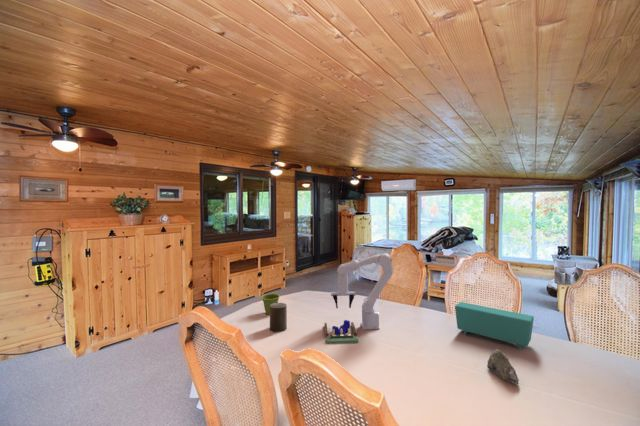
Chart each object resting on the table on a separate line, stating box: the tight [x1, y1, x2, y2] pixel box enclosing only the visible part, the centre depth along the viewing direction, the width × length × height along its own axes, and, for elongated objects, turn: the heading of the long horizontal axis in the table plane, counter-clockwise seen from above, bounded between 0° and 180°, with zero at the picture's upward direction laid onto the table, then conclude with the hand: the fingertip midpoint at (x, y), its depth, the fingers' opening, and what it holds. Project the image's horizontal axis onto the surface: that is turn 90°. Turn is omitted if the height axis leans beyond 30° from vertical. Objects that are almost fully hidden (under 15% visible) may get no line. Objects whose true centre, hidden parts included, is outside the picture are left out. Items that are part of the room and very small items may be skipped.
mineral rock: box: [486, 348, 520, 386], centre depth 118 cm, size 13×11×10 cm
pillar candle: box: [269, 302, 288, 333], centre depth 169 cm, size 10×10×15 cm
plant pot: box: [261, 293, 281, 316], centre depth 193 cm, size 12×12×11 cm
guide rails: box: [324, 321, 358, 338], centre depth 164 cm, size 17×15×2 cm
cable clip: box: [331, 319, 351, 335], centre depth 160 cm, size 12×4×6 cm, turn 139°
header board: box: [325, 327, 359, 344], centre depth 152 cm, size 16×6×5 cm, turn 91°
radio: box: [454, 301, 535, 350], centre depth 152 cm, size 34×10×15 cm, turn 47°
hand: (343, 307), depth 173 cm, fingers open, 7 cm apart
